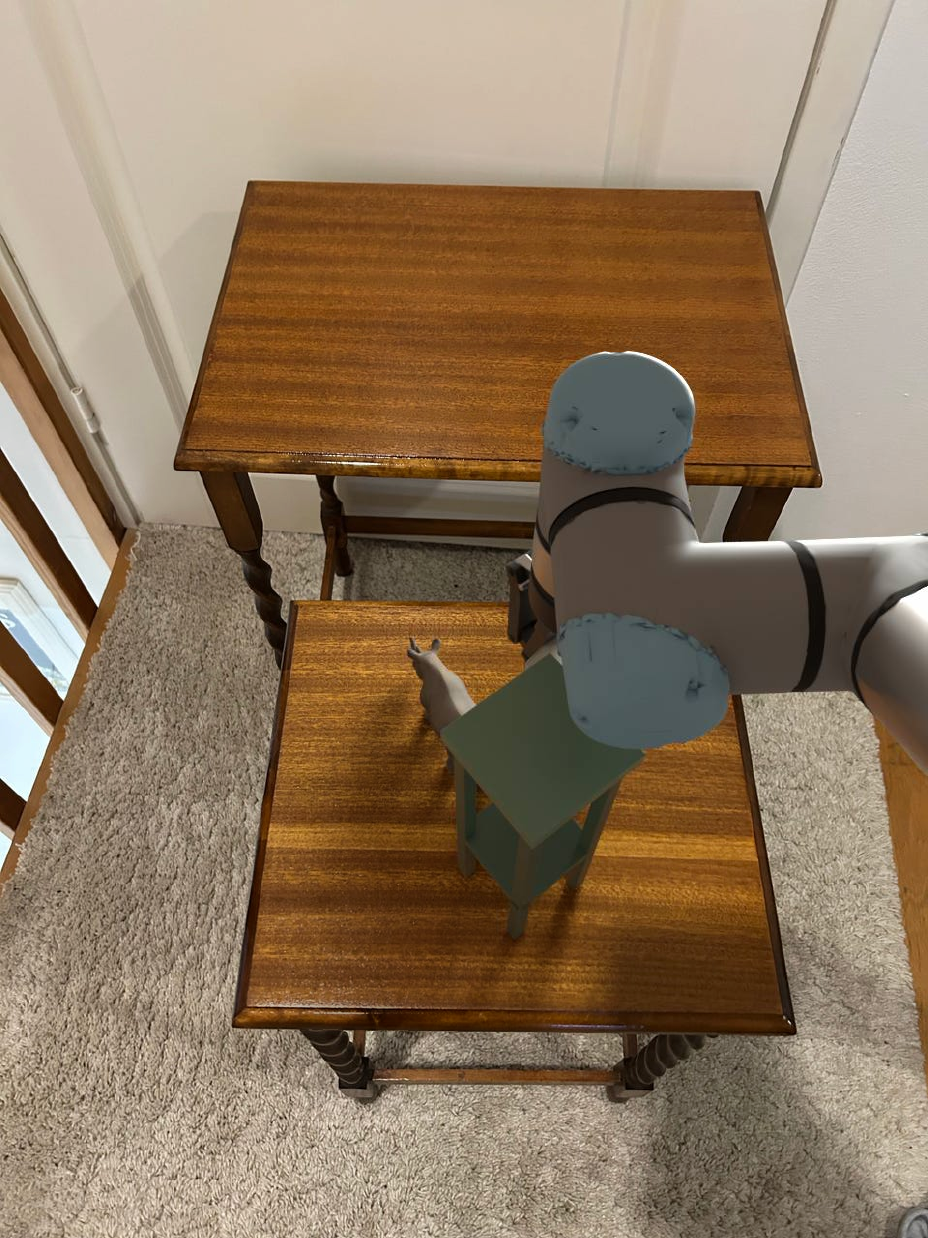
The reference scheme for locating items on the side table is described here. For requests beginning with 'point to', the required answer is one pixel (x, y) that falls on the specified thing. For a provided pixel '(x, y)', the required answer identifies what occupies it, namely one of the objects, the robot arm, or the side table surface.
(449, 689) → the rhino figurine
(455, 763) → the stand
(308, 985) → the side table surface
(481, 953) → the side table surface
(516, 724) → the green square board
